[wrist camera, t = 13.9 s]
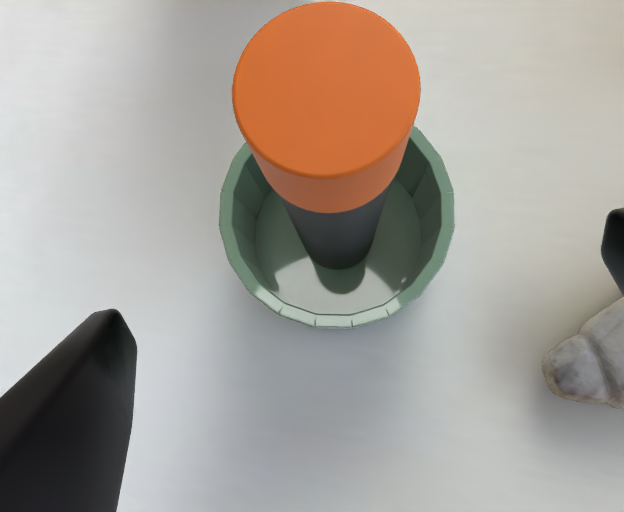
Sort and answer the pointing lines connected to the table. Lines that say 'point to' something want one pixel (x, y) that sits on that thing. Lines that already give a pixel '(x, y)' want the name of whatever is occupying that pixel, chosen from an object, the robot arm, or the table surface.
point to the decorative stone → (591, 361)
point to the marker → (328, 120)
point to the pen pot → (346, 282)
